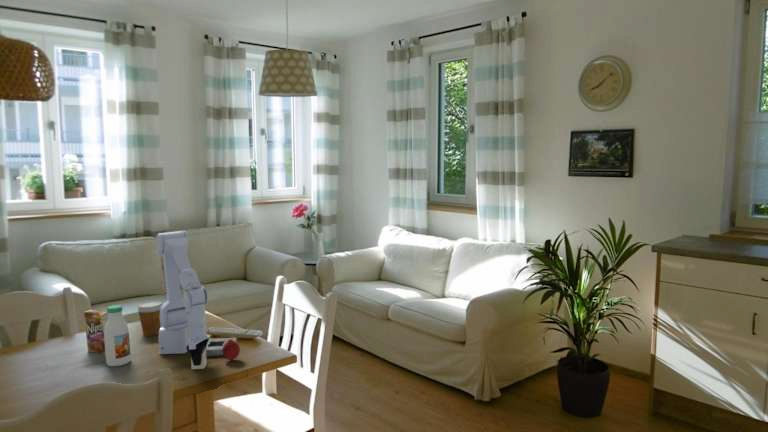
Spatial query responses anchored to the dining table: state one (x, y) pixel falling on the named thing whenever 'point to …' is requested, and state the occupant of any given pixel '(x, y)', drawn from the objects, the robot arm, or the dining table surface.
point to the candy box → (95, 329)
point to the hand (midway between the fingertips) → (199, 362)
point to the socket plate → (216, 346)
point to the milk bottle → (116, 338)
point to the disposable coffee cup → (150, 317)
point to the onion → (230, 349)
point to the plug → (203, 361)
